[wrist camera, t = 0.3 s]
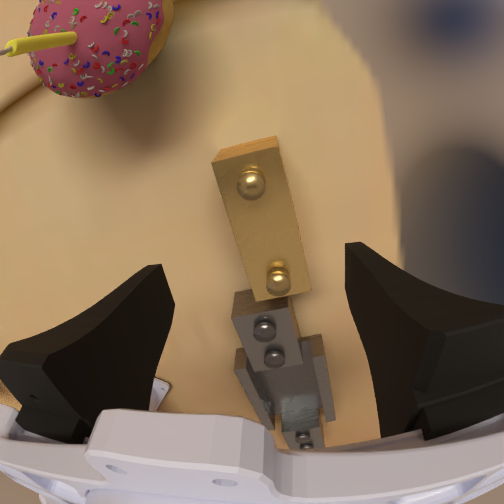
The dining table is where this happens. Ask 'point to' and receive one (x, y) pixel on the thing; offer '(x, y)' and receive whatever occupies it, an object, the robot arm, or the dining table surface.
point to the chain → (282, 369)
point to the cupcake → (93, 43)
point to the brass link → (262, 217)
